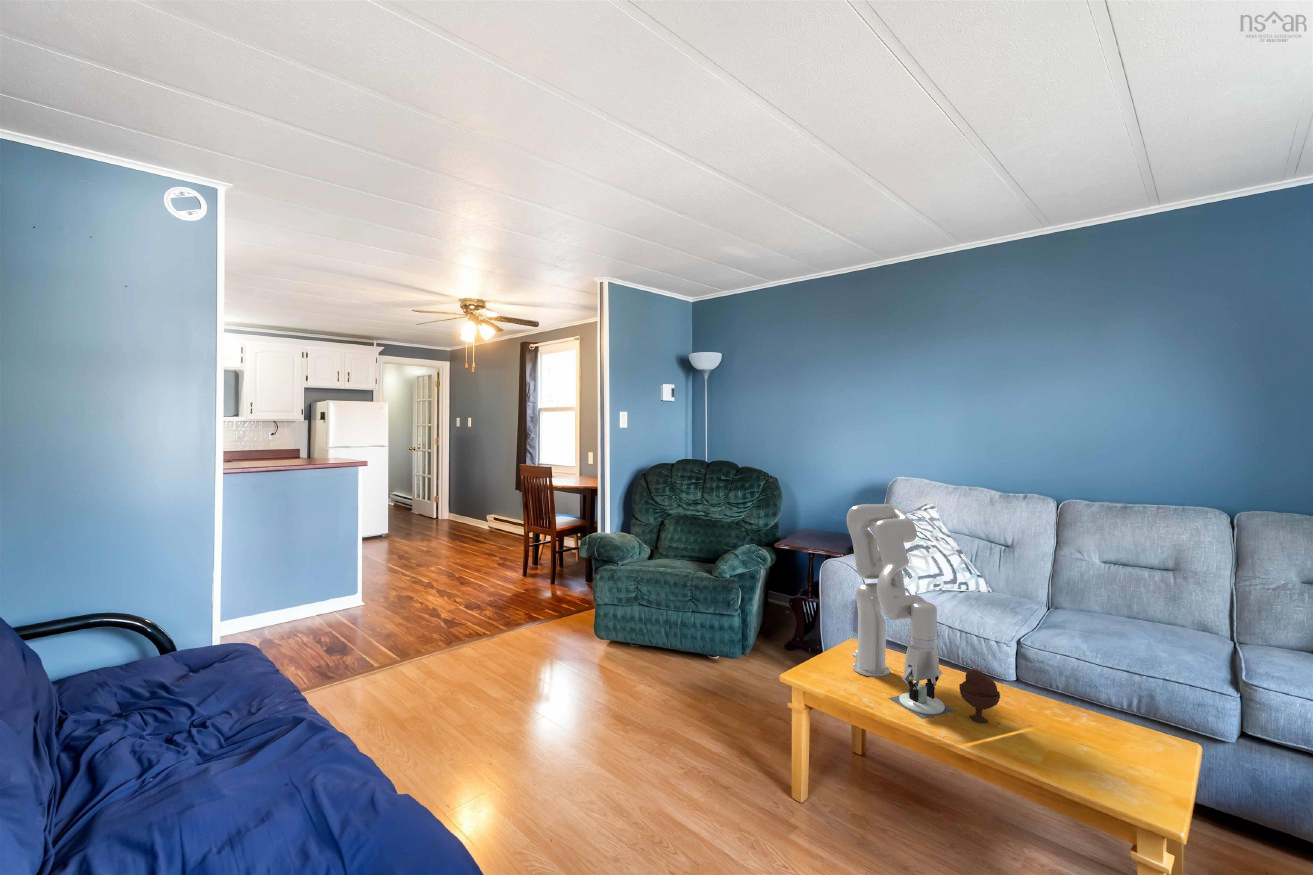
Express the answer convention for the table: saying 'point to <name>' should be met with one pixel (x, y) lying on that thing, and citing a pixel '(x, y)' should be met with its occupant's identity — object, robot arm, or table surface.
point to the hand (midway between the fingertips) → (921, 698)
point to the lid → (922, 702)
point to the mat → (946, 710)
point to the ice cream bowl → (979, 693)
